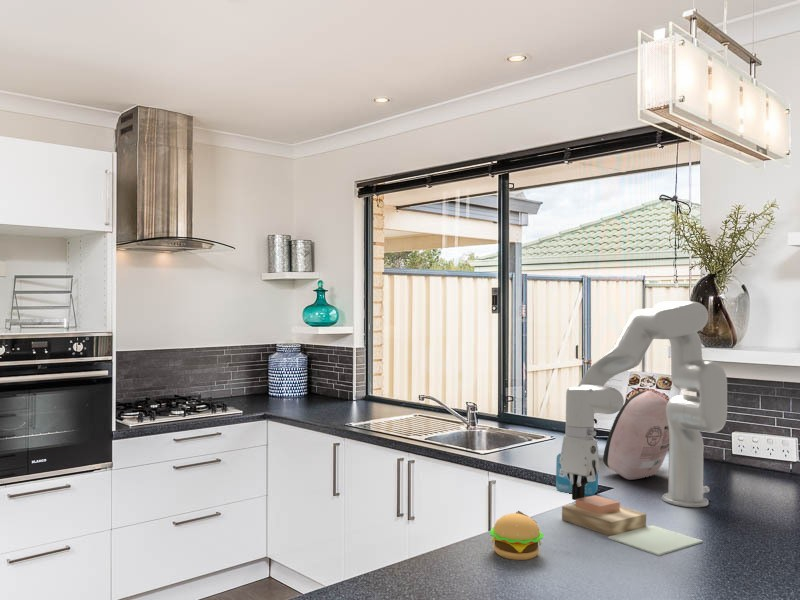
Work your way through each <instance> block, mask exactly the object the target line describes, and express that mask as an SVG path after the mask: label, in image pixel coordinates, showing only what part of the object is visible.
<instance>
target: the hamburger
mask: <svg viewBox="0 0 800 600" xmlns="http://www.w3.org/2000/svg"><path fill="white" fill-rule="evenodd" d="M525 515H526V514H525ZM525 515H522V514H517V513H516V512H515V513H508V514H505V515H502V516H501V517H499V518H498V519H497V520H496V521H495V523H494V526H493V527H492V528H491V530H490V531H489V533H490V536H492V537H491V539H490V541H491V544H493V550H494V551H495V553H496V554H497V555H499V556H500V557H502V558H504V559H505V558H506V559H510V560H518V561H526V560H531V559H533V558H535V557H536V556H538V554H539V552H540V549H539V546H541V545H542V542H541V540H543V538H544V533H542V532H541V531H540V527H539V526H538V522H537V521H536V520H534V519H533V518H531V517H530V516H529V517H528V515H527V516H525ZM532 519H533V520H532ZM536 522H537V523H536Z"/></svg>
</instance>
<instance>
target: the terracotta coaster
mask: <svg viewBox="0 0 800 600" xmlns="http://www.w3.org/2000/svg"><path fill="white" fill-rule="evenodd" d="M575 504H576V507H578V508H581V509H585V510H588V511H591V512H594V513H597V514H604V513H608V512H612V511H617V510H620V506H621V503H620V501H616V500H614V499H610V498H606V497H603V496H599V495H596V494H594V495H593V496H584V498H579V499H576V500H575Z"/></svg>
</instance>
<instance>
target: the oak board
mask: <svg viewBox="0 0 800 600" xmlns="http://www.w3.org/2000/svg"><path fill="white" fill-rule="evenodd" d="M561 520H562V521H565V522H567V523H570V524H574V525H576V526H580V527H582V528H586V529H588V530H591V531H595V532H597V533H600V534H603V535H606V536H608V537H609V536H613V535H617V534H621V533H624V532H628V531H632V530H636V529H640V528H644V527H647V513H644V512H642V511H638V510H634V509H632V508H627V507H624V506H621V505H620V510H617V511H612V512H608V513H604V514H597V513H594V512H591V511H588V510H585V509H581V508H578V507H576V503H572V504H567V505H562V507H561Z"/></svg>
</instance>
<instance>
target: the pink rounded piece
mask: <svg viewBox="0 0 800 600" xmlns="http://www.w3.org/2000/svg"><path fill="white" fill-rule="evenodd" d="M667 403H668V401H667V400H666V399H665V398H664V397H662V396H661V395H660V394H658V393H656V392H653V391H651V390H641V391H639V392H636V393H635V394H633V395H631V396H630V397H629V398H628V399H627V400H626V401H625V402H624V403H623V407H622V408H621V409H620V410H619V411H618V412H617V413H616V416H615V418H614V420H613V423H612V425H611V427H610V431H609V433H608V436H607V440H606V442H605V446H604V449H603V450H604V451H603V456H602V461H603V463H604V465H605V466H606V467H608V468H609V469H610V470H611V471H613V472H615V473H616V474H618V475H619V476H621V477H622V478H624V479H625V480H630V481H631V480H633V481H634V480H638V479H644V478H645V477H646V478H650V477H652V476H654V475H655V474H656V473H657V472H658V471H659V470H660V468H661V467H662V465H663V463H664V461H665V458H666V456H667V454H668V452H669V427H668V421H667V416H666V406H667ZM649 476H650V477H649ZM646 478H645V479H646Z"/></svg>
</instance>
